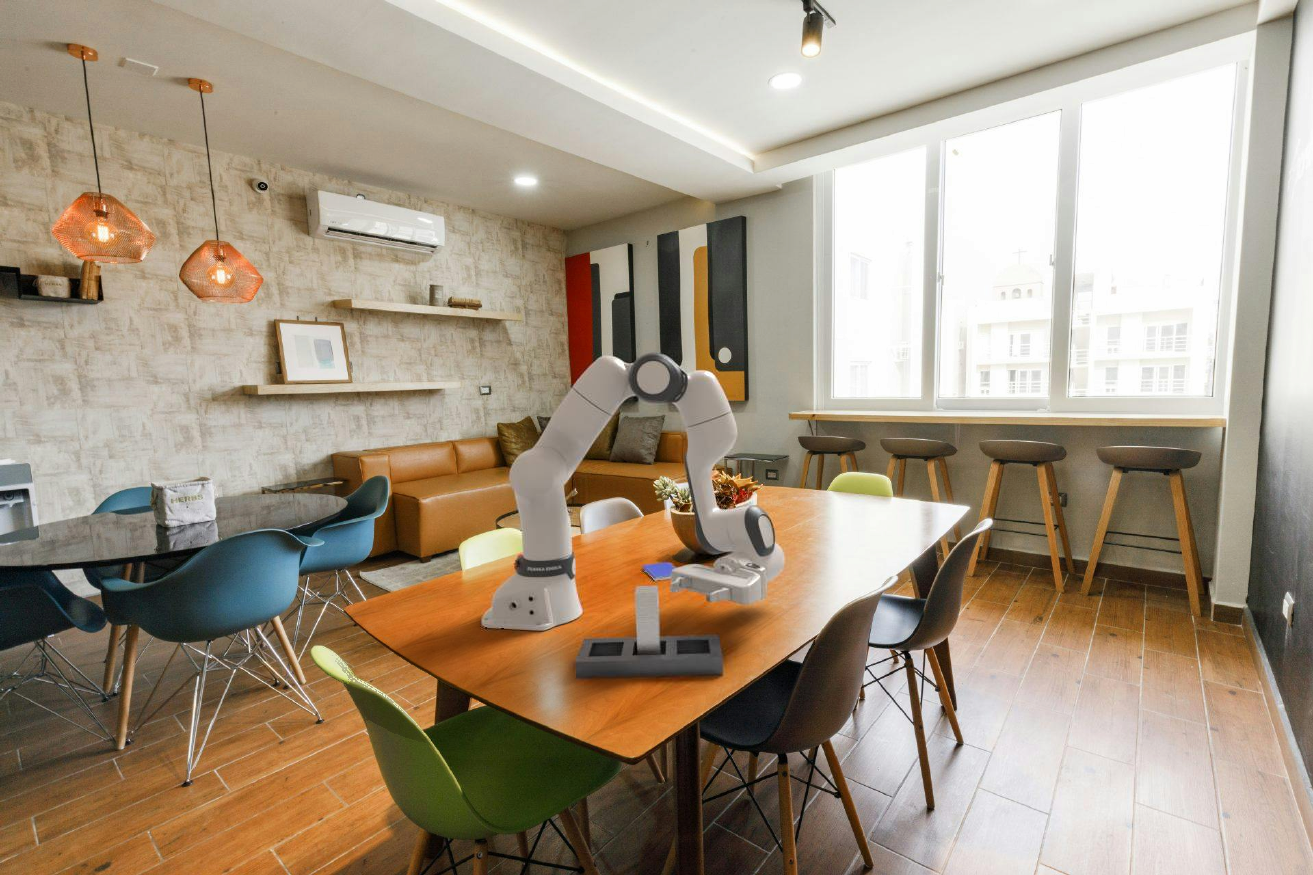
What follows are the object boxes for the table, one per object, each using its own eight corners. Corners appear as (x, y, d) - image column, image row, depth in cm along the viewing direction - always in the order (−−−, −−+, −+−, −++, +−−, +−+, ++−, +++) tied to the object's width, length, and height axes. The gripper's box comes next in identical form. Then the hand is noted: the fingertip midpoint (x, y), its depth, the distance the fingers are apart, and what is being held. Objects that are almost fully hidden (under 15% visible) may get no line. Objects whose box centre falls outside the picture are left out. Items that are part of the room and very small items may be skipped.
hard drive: (683, 573, 160) (668, 561, 171) (655, 577, 157) (641, 565, 169) (684, 578, 160) (669, 567, 171) (655, 583, 157) (642, 570, 169)
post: (638, 668, 107) (634, 593, 106) (639, 658, 111) (636, 586, 110) (660, 668, 107) (657, 592, 106) (660, 658, 111) (657, 585, 110)
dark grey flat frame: (575, 678, 104) (575, 661, 104) (584, 653, 114) (583, 638, 114) (723, 674, 103) (722, 658, 103) (719, 649, 113) (718, 634, 113)
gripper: (694, 553, 133) (651, 568, 124) (771, 569, 119) (730, 587, 109) (695, 581, 134) (653, 597, 124) (772, 599, 120) (731, 620, 110)
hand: (690, 593), depth 116 cm, fingers open, 8 cm apart
